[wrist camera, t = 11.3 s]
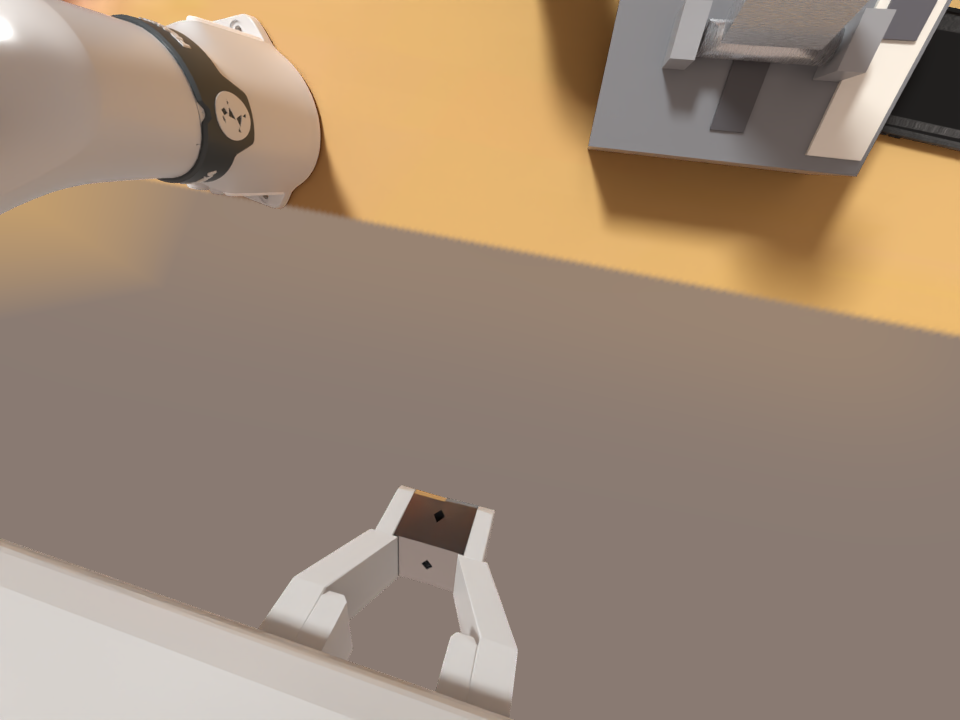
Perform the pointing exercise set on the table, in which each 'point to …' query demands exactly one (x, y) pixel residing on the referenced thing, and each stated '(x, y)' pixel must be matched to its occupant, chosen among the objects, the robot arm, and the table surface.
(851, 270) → the table surface
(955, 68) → the phone
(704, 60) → the switch box
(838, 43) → the lever
